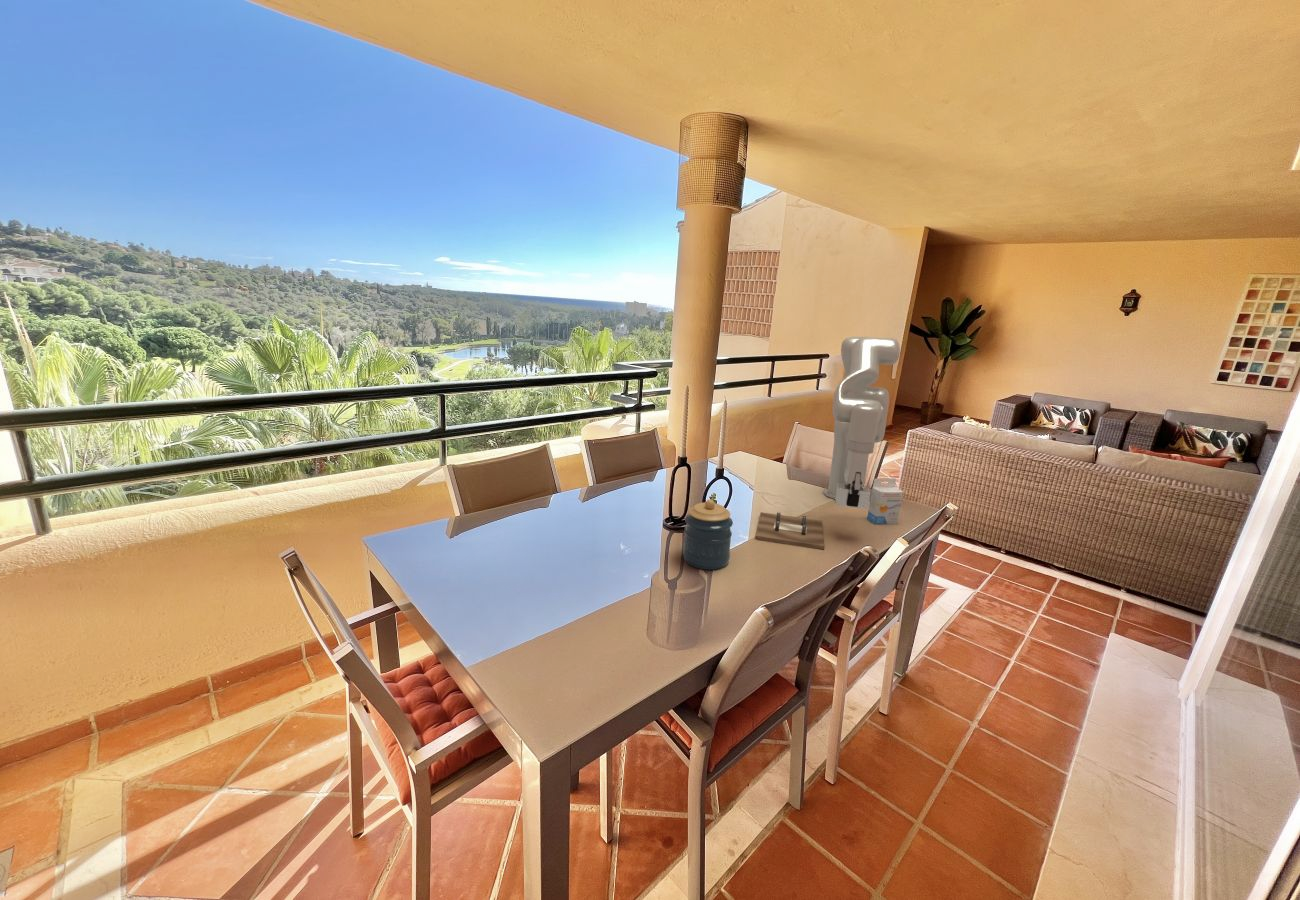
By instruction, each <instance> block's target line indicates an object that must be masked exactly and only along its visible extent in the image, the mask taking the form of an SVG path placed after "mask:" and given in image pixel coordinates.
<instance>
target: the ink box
mask: <svg viewBox="0 0 1300 900" xmlns="http://www.w3.org/2000/svg"><path fill="white" fill-rule="evenodd" d="M883 482H885V483H883ZM896 482H897V478H896V477H894V478H892V477H887V478H886V477H883V478H882V477H881V478H880V477H879V478H875V477H874V479H873V485H872V489H871V493H870V499H869V505H868V509H867V511H868V512H867V520H868V521H870V522H872V523H873V524H874V525H898V522H899V518H900V517H899V516H900V512H901V507H902V501H903V496H904V491H903V490H901V489H899V488H898V487H896Z"/></svg>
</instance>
